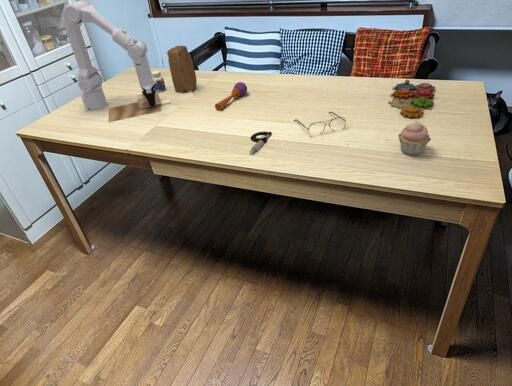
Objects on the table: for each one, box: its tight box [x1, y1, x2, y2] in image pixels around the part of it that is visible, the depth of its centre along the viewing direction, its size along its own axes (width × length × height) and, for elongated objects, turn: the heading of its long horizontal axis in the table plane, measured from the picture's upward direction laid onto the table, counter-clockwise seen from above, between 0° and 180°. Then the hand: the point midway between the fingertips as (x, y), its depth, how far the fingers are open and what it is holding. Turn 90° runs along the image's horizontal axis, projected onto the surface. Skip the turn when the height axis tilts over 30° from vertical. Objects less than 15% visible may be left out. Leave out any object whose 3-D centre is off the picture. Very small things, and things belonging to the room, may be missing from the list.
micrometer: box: [249, 131, 272, 155], centre depth 128 cm, size 15×7×2 cm, turn 152°
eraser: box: [160, 98, 171, 106], centre depth 163 cm, size 4×4×2 cm
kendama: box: [214, 81, 248, 112], centre depth 158 cm, size 6×6×20 cm
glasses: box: [293, 111, 347, 135], centre depth 134 cm, size 14×15×5 cm
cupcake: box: [397, 120, 432, 156], centre depth 112 cm, size 9×9×10 cm
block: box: [166, 45, 198, 94], centre depth 169 cm, size 11×8×20 cm
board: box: [108, 101, 162, 123], centre depth 161 cm, size 22×16×1 cm
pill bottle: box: [151, 70, 167, 94], centre depth 174 cm, size 5×5×10 cm
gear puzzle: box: [387, 79, 436, 119], centre depth 141 cm, size 31×16×4 cm, turn 157°
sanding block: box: [136, 91, 163, 110], centre depth 160 cm, size 9×4×5 cm, turn 108°
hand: (152, 103), depth 161 cm, fingers closed on sanding block, 4 cm apart
